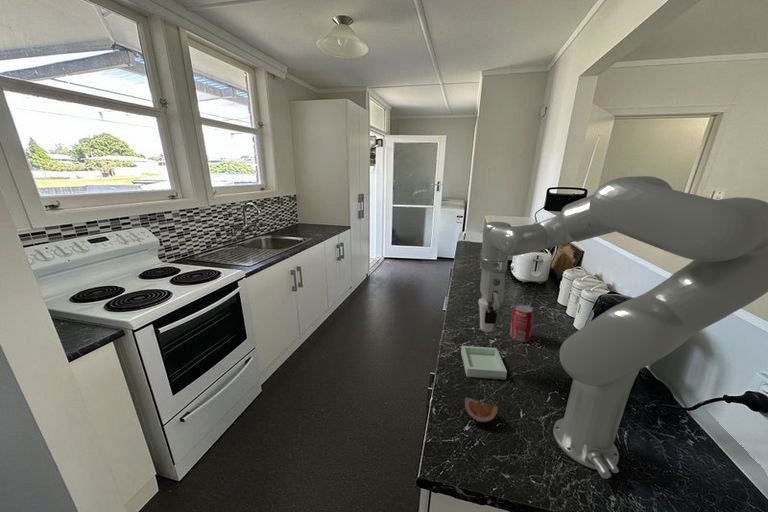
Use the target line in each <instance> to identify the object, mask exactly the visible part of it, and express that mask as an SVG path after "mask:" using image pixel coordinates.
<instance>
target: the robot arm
mask: <svg viewBox="0 0 768 512" xmlns="http://www.w3.org/2000/svg"><path fill="white" fill-rule="evenodd" d="M615 232H616V233H619V234H621V235H624V236H626V237H628V238H630V239H633V240H636V241H638V242H642V243H644V244H647V245H649V246H652V247H654V248H656V249H660V250H662V251H664V252H667V253H670V254H672V255H675V256H677V257H681V258H684V259H688V260H691V262H689V263H687V264H686V265H685V266H684V267H682V268H681V269H679V270H677V271H676V272H674V273H672V275H670V276H669V277H667V278H666V279H665V280H663V281H662V282H661V283H659V284H658V285H656V286H655V287H653V288H652V289H649V290H648V291H646V292H644V293H642V294H641V295H638V296H635V297H632V298H630V299H627V300H625V301H623V302H621V303H618V304H615V305H614V306H613V307H611V308H609V309H606V310H605V311H604V312H602V313H601V314H600V315H598V316H596V317H595V318H594V319H592V320H591V321H590V322H588V323H587V324H585V325H584V326H583V327H582V328H580V329H578V330H577V331H576V332H573V334H571V335H570V336H569V337H568V338H566V339H565V340H564V341H563V342H562V344H561V346H560V349H559V361H560V364H561V366H562V368H563V370H564V372H566V373H567V375H568V376H569V377H571V378H572V382H571V386H570V391H569V396H568V398H567V404H566V408H565V412H564V416H563V417H562V418H559V419H558V420H556V422H554V425H553V432H552V434H553V437H554V440H555V441H556V443H557V444H558V446H559V447H560V449H562V451H563V452H564V453H566V455H568V456H569V457H570V458H571V459H573V460H574V461H576V463H579V464H581V465H582V466H585V467H587V468H590V469H592V470H596V471H597V472H598V473H599V475H600V478H602V479H609V478H611V477H612V474H611V472H612V473H613V474H617V473H619V472H620V470H619V468H618V466H617V465H618V463H619V461H620V460H619V459H620V454H619V450H618V448H617V446H616V445H615V440H616V437H617V434H618V431H619V426H620V424H621V422H622V421H621V420H622V417H623V416H624V415H623V414H624V412H625V408H626V404H627V402H628V399H629V397H630V396H629V395H630V393H631V389H632V387H633V386H634V383H635V380H636V379H637V376H638V374H639V372H640V370H641V369H643V368H646V367H647V366H650V365H651V364H654V363H656V362H658V361H659V360H661V359H663V358H665V357H666V356H667V355H669V354H671V353H672V352H673V351H674V350H676V349H677V348H679V347H680V346H681V345H683V344H684V343H685V342H686V341H688V339H689V338H691V337H692V336H694V335H695V334H697V333H699V332H700V331H702V330H705V329H706V328H708V327H709V326H712V325H713V324H715V323H717V322H720V321H721V320H723V319H725V318H726V317H728V316H730V315H731V314H734V313H735V312H737V311H739V310H741V309H743V308H745V307H746V306H748V305H750V304H752V303H753V302H755V301H756V300H758V299H760V298H761V297H763V296H764V295H765V294H767V293H768V202H767V201H764V200H761V199H757V198H752V197H737V196H736V197H727V198H726V197H725V198H721V199H715V198H711V197H707V196H703V195H698V194H693V193H689V192H686V191H685V192H683V191H680V190H676V189H673V188H672V186H671V185H670V184H669V183H668V182H667V181H665V180H664V179H662V178H659V177H656V176H649V175H646V176H645V175H643V176H640V175H639V176H623V177H622V176H621V177H617V178H614V179H611V180H609V181H607V182H605V183H603V185H600V187H598V189H596V191H595V192H594V193H592V194H591V195H588V196H586V197H584V198H581V199H578V200H576V201H573V202H570V203H568V204H565V205H564V206H563V207H562V209H561V212H560V214H558V215H555V216H553V217H551V218H548V219H546V220H545V219H544V220H542V221H539V222H536V223H532V224H525V225H518V226H512V225H511V224H510V223H508V222H504V221H489V222H486V223H485V224H484V226H483V232H482V234H483V235H482V242H481V252H480V263H479V268H480V269H481V275H480V285H479V289H480V290H479V291H480V294H481V297H480V298H482V297H483V298H484V300H485V301H486V302H487V311H486V312H485V321H484V322H485V323H486V324H494V325H495V324H496V323H497V316H498V312H497V310H498V311H499V308H500V307H499V304H498V302H499V303H500V305H502V304H504V297H505V287H506V286H505V285H506V283H505V282H506V280H505V279H506V274H505V273H506V271H508V263H509V256H511V257H514V256H516V257H517V256H521V255H527V254H530V253H534V252H540V251H544V250H548V249H552V248H555V247H558V246H562V245H565V244H570V243H573V242H577V243H578V242H582V241H586V240H589V239H593V238H598V237H601V236H604V235H608V234H611V233H615ZM489 300H493V302H489ZM490 304H493V306H491V307H490ZM610 471H611V472H610Z"/></svg>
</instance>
